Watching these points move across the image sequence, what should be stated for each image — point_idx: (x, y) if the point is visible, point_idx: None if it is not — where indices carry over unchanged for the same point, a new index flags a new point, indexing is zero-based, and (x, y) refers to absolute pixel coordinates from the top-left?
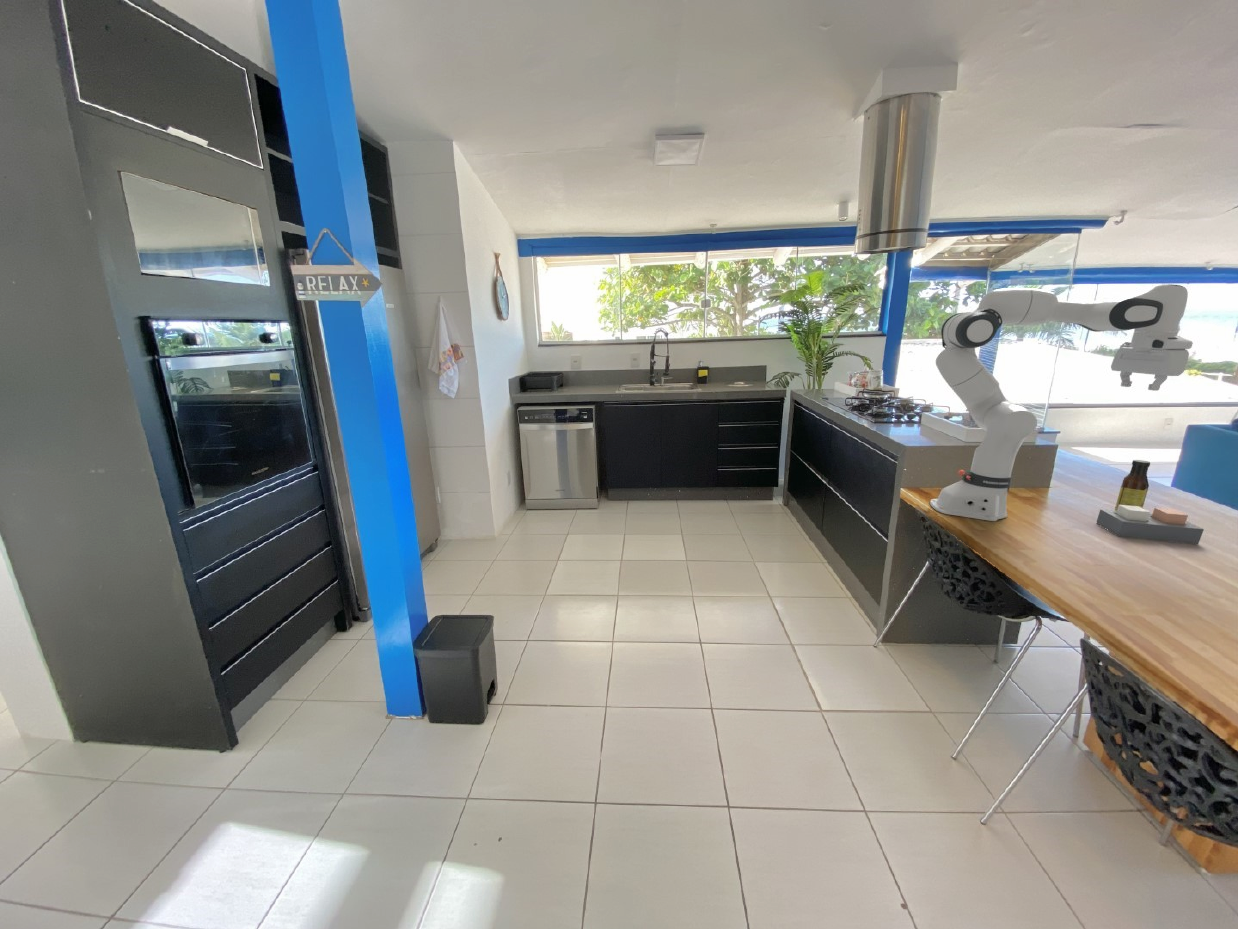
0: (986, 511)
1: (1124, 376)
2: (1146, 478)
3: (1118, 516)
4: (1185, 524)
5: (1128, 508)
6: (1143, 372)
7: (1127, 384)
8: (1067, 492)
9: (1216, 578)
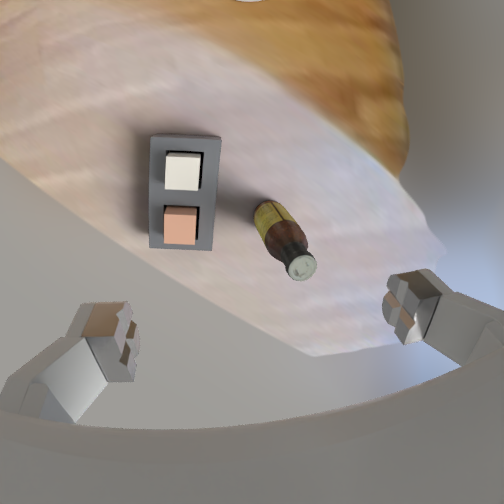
0: None
1: (476, 330)
2: (278, 258)
3: (180, 146)
4: None
5: (176, 160)
6: (171, 438)
7: (399, 301)
8: (385, 203)
9: (36, 174)
